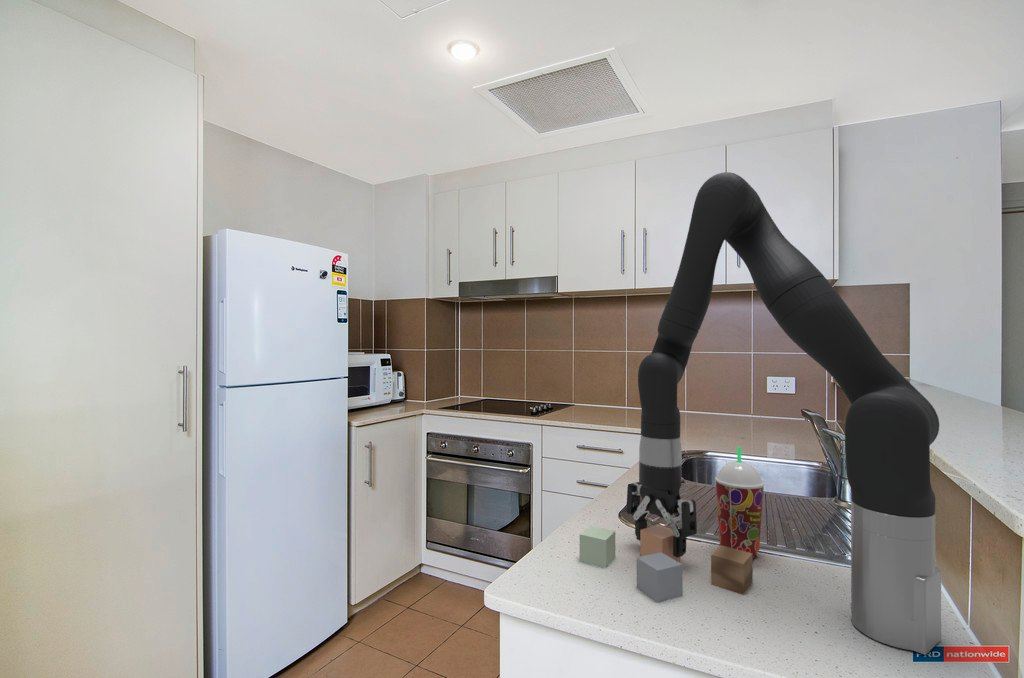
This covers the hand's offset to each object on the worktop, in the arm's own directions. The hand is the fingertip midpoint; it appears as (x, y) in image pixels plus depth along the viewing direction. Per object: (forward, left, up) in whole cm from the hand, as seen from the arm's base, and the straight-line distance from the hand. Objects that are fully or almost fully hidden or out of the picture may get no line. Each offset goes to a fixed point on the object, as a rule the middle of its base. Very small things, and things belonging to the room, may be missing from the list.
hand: (659, 547), depth 91 cm
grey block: (-8, +10, -2) cm, 13 cm away
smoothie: (-7, -14, -2) cm, 16 cm away
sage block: (+6, +10, -2) cm, 12 cm away
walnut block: (-13, -2, -2) cm, 14 cm away
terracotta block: (0, 0, -2) cm, 2 cm away
